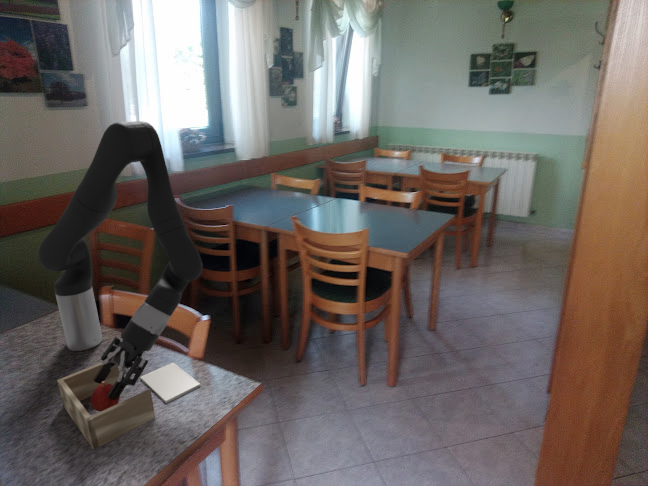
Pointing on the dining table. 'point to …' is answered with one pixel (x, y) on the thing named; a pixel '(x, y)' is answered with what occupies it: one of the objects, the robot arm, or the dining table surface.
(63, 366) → the dining table surface
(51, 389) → the dining table surface
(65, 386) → the open box
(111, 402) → the onion
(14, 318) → the dining table surface
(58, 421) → the dining table surface
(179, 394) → the board
